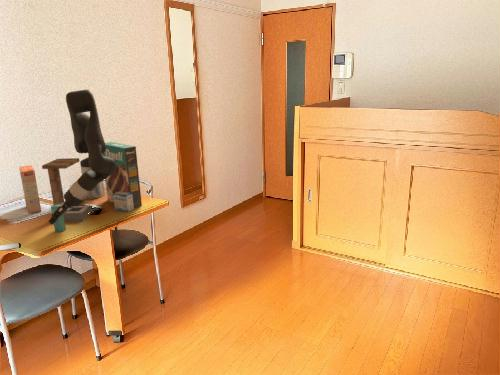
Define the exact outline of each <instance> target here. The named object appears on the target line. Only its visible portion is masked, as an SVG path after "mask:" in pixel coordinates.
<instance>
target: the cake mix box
mask: <svg viewBox="0 0 500 375" xmlns="http://www.w3.org/2000/svg"><path fill="white" fill-rule="evenodd" d="M105 144H106V151H105V152H104V153H102V156H105V157H109V158H112V159H113V160H114V161H115V163H116V168H115V170H114V172H113V173H112V174H111V175H110V176H109V177H107V178H106V179H104V182H105V188H106V189H105V190H106V197H107V201H109V202H111V203H114V193H116V192H129V193H132V196H133V206H134V209H135V208H137V207H141V206H142V205H143V204H142V196H141V195H142V194H141V193H142V192H141V185H140V176H139V167H138V155H137V149H136V148H137V146H135V145H130V144H126V143H119V142H112V141H108V142H105Z"/></svg>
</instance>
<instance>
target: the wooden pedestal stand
mask: <svg viewBox="0 0 500 375" xmlns="http://www.w3.org/2000/svg"><path fill="white" fill-rule="evenodd" d="M77 163H80V158H79V157H77V158H74V157H73V158H69V157H68V158H55V159H53V160H51V161H49V162H47V163H45V164H43V165H41V169H42V170H47V173H48V180H49V185H50V191H51V196H52V197H51V198H52V203H53V205H57V204H60V205H61V204H62V203H63V202H65V199H64V191H63V186H62V178H61V173H60V169H61V170H64V169H68V168H70V167H71V166H73V165H75V164H77Z"/></svg>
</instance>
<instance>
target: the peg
mask: <svg viewBox="0 0 500 375" xmlns="http://www.w3.org/2000/svg"><path fill="white" fill-rule="evenodd" d="M59 206H60V204H57V205H54V204H53V205H51V206H50V212H51V215H52V214H53V213H54V212H55V211H56V210H57V209H58V207H59ZM53 228H54V233H63V232H65V231H67V228H66V222H64V216H63V215H61V216H60V217H59V219H57V221H56V222H55V223H54V224H53Z"/></svg>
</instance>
